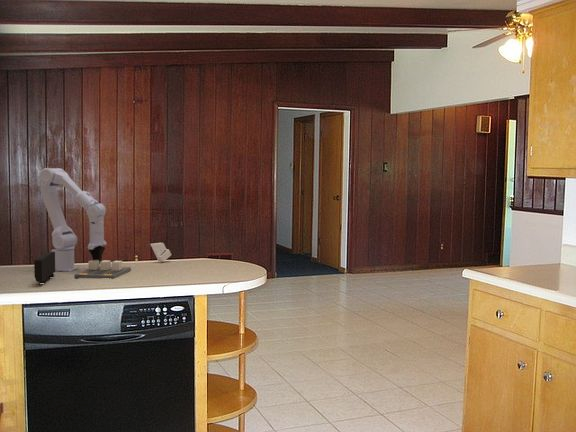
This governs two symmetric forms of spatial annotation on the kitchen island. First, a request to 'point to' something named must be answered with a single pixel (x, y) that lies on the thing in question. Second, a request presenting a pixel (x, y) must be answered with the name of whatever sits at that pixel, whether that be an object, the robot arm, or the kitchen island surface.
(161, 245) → the white angled block
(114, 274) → the switch bank
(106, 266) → the tab
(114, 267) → the cream squarish block
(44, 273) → the digital display
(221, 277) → the kitchen island surface
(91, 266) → the beige block
